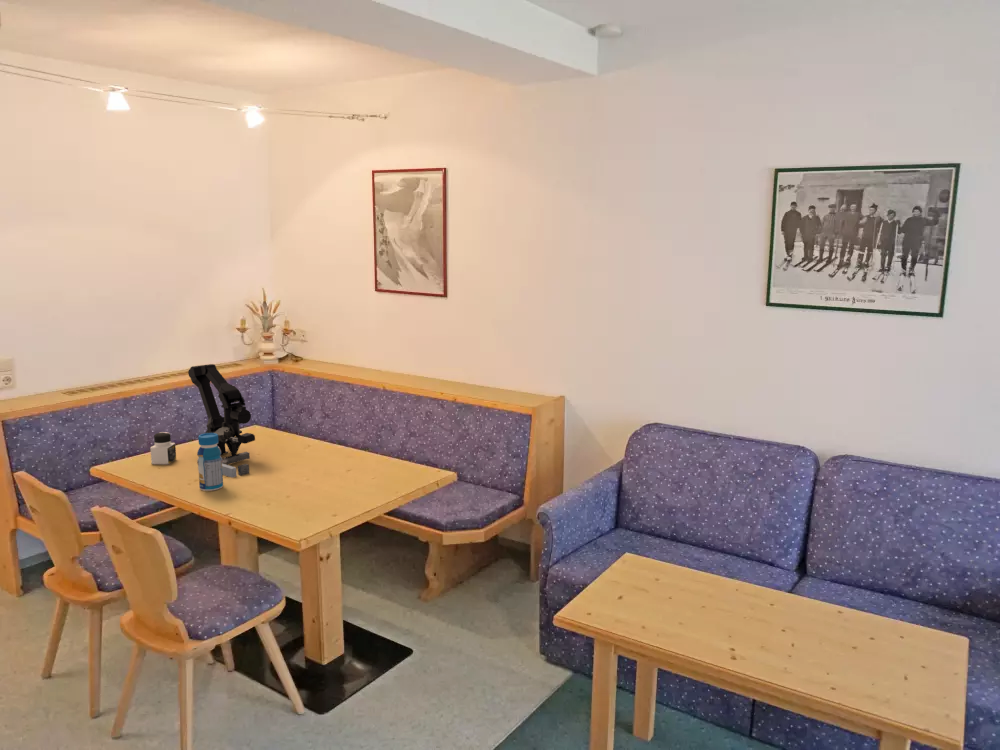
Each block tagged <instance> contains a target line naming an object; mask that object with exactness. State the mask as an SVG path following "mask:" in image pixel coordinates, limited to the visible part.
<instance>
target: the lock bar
mask: <svg viewBox="0 0 1000 750" xmlns="http://www.w3.org/2000/svg"><path fill="white" fill-rule="evenodd" d="M250 456H251V455H250V452H249V451H244V452H240V453H237V454H235V455H229V456H226V457H225V456H224V457H222V464H226V465H228V464H229V465H231V464H234V463H238V462H242V461H245V460H249V459H250V458H251V457H250Z"/></svg>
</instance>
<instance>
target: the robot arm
mask: <svg viewBox="0 0 1000 750" xmlns="http://www.w3.org/2000/svg"><path fill="white" fill-rule="evenodd" d="M187 373H188V377H189V378H190V380H191V382H192V384H194V386H196V387H197V389H198V392H199V394H200V397H201V401H202V403H203V404H202V405H203V406H204V409H205V412H206V416H207V418H208V420H207V423H206V428H207V429H206V431H205V433H216V434H218V444H217V445H218V446H219V448H220V450H221V456H222V455H226V454H229V453H230V454H231V455H230V456H232V455H235V454H238V451H239V449H240V446H241V444H248V443H252V442H254V441H256V435H255V434H254V433H252V432H251V433H249V432H245V433H243V430H241V429H240V427H241V426H240V424H241V425H245V424H248V423H249V422H251V418H252V414H251V412H250V411H249V410H248V409H247V406H246V403H245V401H246V400H245V399H244V397H243V395H242V392H241V391H240V390H239V389H238V387H236V386H235V385H233V384H230V383H229V382H228V381H227V380H226V379H225V378H224V376H223V375H222V373H220V371H219V370H218V369H217V366H216V364H214V363H210V364H209V363H208V364H201V365H195V366H194V365H193V366H190V368H189V370H187ZM211 384H212V385H213V386H214V388H215V389H216V390H217V392H218V398H219V400H220V402H221V404H222V405H221V408H223V416H222V415H221V413H220V411H219V407H218V403H217V400H216V398H215V395H214V392H213V388H212V386H211ZM226 446H227V448H228V450H229V451H227V450H226Z"/></svg>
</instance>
